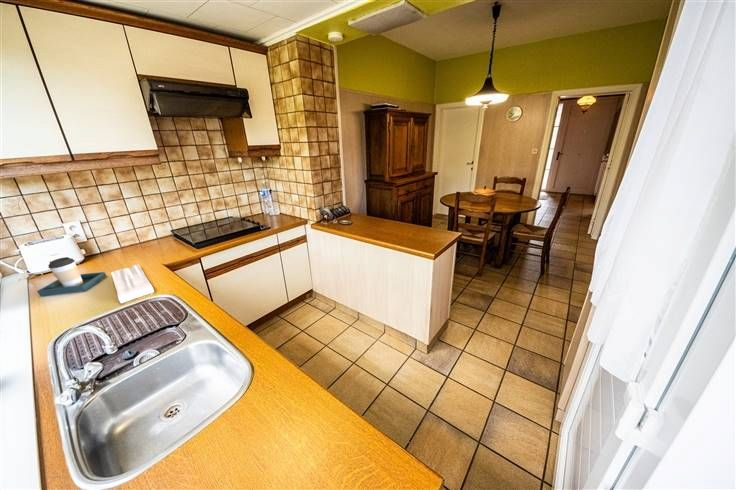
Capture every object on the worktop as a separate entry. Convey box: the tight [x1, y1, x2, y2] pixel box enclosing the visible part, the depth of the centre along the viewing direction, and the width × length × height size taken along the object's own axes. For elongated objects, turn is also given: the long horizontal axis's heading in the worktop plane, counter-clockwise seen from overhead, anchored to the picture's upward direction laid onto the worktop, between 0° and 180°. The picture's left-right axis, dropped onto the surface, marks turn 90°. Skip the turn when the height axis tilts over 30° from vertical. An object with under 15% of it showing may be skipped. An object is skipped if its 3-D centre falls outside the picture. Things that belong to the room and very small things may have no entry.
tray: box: [36, 271, 108, 298], centre depth 136 cm, size 20×15×3 cm
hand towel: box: [110, 263, 155, 304], centre depth 134 cm, size 12×4×40 cm
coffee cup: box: [47, 256, 83, 288], centre depth 133 cm, size 9×9×15 cm
